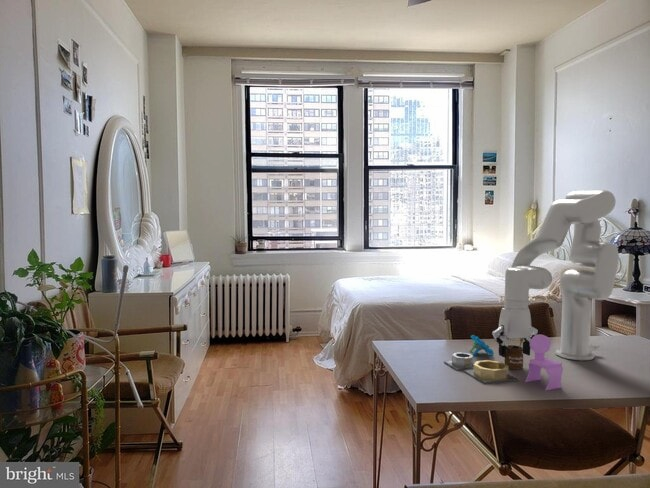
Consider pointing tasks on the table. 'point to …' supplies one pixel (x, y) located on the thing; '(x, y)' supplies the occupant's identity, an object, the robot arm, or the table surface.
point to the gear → (480, 346)
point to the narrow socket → (461, 361)
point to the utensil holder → (514, 356)
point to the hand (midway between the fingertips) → (514, 355)
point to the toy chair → (544, 363)
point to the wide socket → (491, 372)
